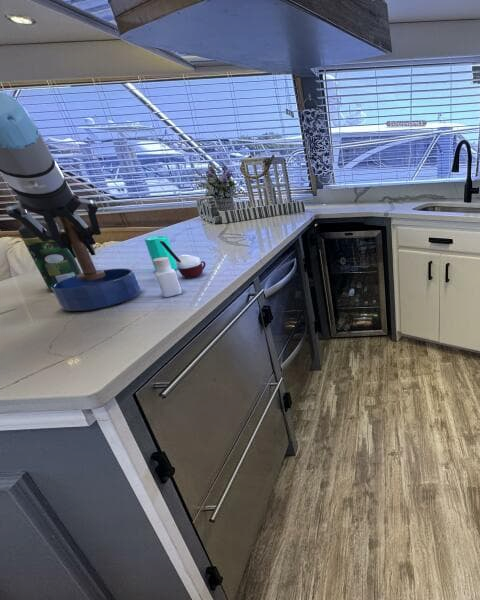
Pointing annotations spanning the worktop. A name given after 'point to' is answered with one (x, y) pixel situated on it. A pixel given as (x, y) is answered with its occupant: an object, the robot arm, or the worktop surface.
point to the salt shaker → (166, 277)
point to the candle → (160, 249)
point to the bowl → (96, 290)
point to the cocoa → (187, 264)
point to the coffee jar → (49, 256)
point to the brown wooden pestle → (80, 252)
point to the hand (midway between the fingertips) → (83, 251)
